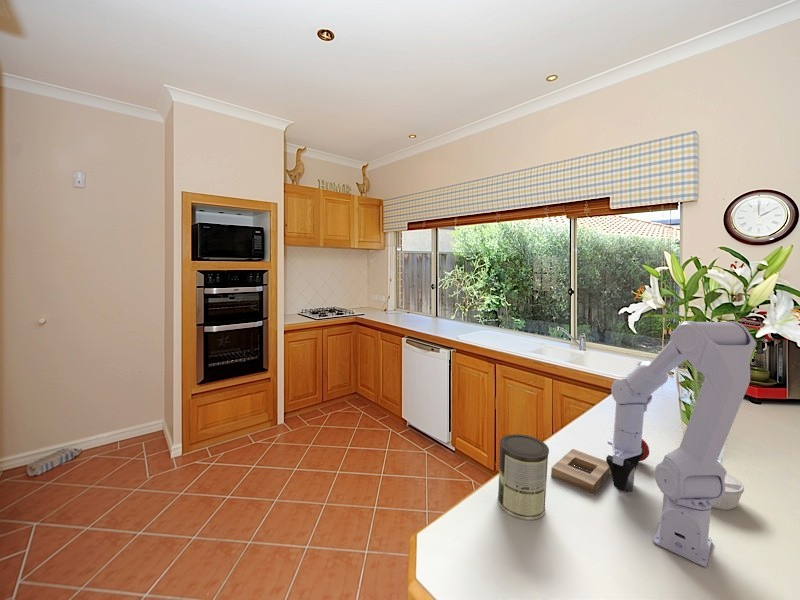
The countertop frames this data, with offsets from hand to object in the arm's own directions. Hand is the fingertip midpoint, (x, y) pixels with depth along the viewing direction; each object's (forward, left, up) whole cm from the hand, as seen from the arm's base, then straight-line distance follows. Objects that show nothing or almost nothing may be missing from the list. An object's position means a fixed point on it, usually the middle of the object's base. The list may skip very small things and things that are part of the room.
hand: (623, 481), depth 86 cm
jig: (-2, +9, -1) cm, 9 cm away
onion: (+16, +1, -2) cm, 16 cm away
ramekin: (+11, -15, -2) cm, 19 cm away
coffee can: (-25, +14, -2) cm, 29 cm away
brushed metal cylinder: (0, 0, -1) cm, 1 cm away
